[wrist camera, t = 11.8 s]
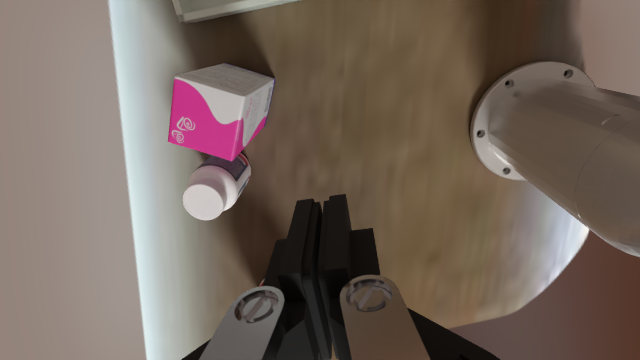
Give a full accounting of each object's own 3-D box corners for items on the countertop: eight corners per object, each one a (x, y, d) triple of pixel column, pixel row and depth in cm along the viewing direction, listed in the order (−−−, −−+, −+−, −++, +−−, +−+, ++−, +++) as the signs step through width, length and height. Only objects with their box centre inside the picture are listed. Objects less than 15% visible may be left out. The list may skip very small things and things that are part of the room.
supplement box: (222, 61, 36) (173, 72, 25) (276, 78, 36) (250, 95, 26) (214, 113, 38) (165, 143, 27) (264, 128, 38) (236, 164, 28)
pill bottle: (204, 148, 40) (169, 177, 32) (248, 146, 39) (223, 175, 31) (213, 189, 42) (182, 226, 34) (254, 187, 41) (233, 225, 33)
